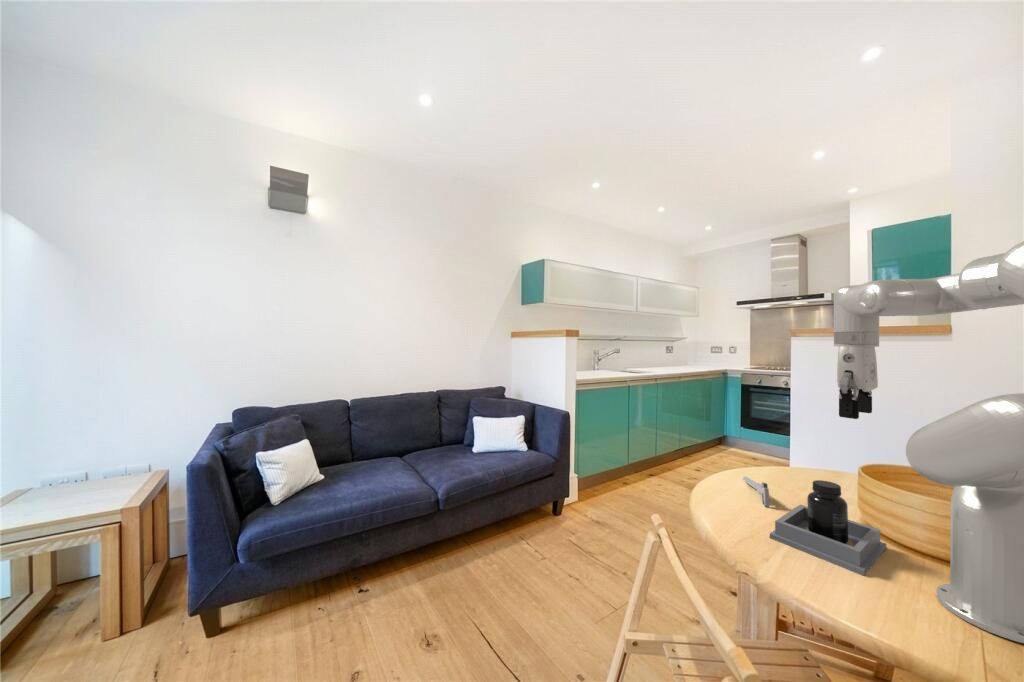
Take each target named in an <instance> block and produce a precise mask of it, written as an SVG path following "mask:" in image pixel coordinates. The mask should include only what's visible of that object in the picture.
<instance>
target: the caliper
mask: <svg viewBox="0 0 1024 682" xmlns="http://www.w3.org/2000/svg"><path fill="white" fill-rule="evenodd" d="M742 480H743V481H744V480H745V481H744V483H746V484H747V485H749V486H751V487H752V488H753V489H755V490H756V494H759V495H760V497H761V498H760V499H761V504H762V505H763V506H764V507H767V508H769V507H770V491H769V488H768V483H766V482H761V483H760V482H756V481H754V480H753V479H751V478H750V477H748V476H743V477H742Z"/></svg>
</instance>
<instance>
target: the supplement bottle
mask: <svg viewBox="0 0 1024 682" xmlns="http://www.w3.org/2000/svg"><path fill="white" fill-rule="evenodd" d="M811 488H812V492H809V493H808V494H807V499H806V500H807V507H808V531H810V532H813V533H816V534H819V535H822V536H824V537H827V538H830V539H833V540H835V541H838V542H841V543H844V544H846V543H847V542H848V520H849V515H848V513H849V512H848V511H849V509H848V508H849V507H848V502H847V501H846V500H845V499H844V498H843V497H842V487H841V485H840V484H838V483H835V482H833V481H832V482H831V481H828V480H822V479H821V480H820V479H817V480H813V481H812V487H811Z"/></svg>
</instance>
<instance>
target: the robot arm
mask: <svg viewBox="0 0 1024 682" xmlns="http://www.w3.org/2000/svg"><path fill="white" fill-rule="evenodd" d="M1019 305H1021V306H1022V305H1024V240H1023V241H1021V242H1020V243H1018V244H1015V245H1014V246H1012V247H1011V248H1010V249H1008V250H1007V251H1006V252H1004V253H1002V252H1001V253H999V254H993V255H989V256H983V257H978V258H976V259H973V260H972V261H969V262H968V263H967V264H965V266H964V267H963V268H962V269H961V271H960V272H959V273H955V274H949V275H948V274H947V275H944V276H943V275H942V276H938V277H937V276H936V277H933V278H931V277H930V278H923V279H922V278H905V279H904V278H897V279H896V278H895V279H877V280H871V281H868V282H865V283H862V284H854V285H846V286H840V287H837V289H835V291H834V293H833V347H838V351H837V365H836V366H837V367H836V368H837V370H836V372H837V373H836V376H837V377H836V378H837V379H836V380H837V387H838V392H839V394H838V416H839V417H840V418H845V419H854V420H858V419H859V418H860V413H863V414H872V413H873V396H872V394H873V390H875V389H877V388H878V387H879V382H878V380H879V378H878V364H877V352H876V349H875V348H878V347H880V317H902V316H903V317H907V316H908V317H909V316H910V317H920V316H921V317H922V316H934V315H944V314H952V313H953V314H954V313H961V312H970V311H971V312H972V311H977V310H987V309H994V308H995V309H996V308H1002V307H1013V306H1019ZM905 456H906V459H907V461H908V463H909V464H910V466H911V467H912V468H913V469H914V471H915V472H917V473H918V474H919V475H920V476H922V477H924V478H926V479H927V480H929V481H931V482H933V483H936V484H939V485H943V486H945V487H946V486H947V487H952V488H953V490H952V493H951V498H950V551H949V555H950V565H949V568H950V570H949V571H950V574H949V575H950V576H949V579H950V583H944V584H940V585H938V586H937V587H936V589H935V592H936V598H937V600H938V601H939V602H940V604H941V605H942V606H943V607H945V608H946V609H948V611H949V612H951V613H952V614H954V615H955V616H957V617H958V618H961V619H963V621H966V622H967V623H969V624H972V625H974V626H975V627H977V628H980V629H982V630H984V631H986V632H989V633H991V634H994V635H995V636H999V637H1001V638H1005V639H1007V640H1010V641H1013V642H1016V643H1020V644H1024V392H1023V393H1008V394H1002V395H1001V394H1000V395H997V396H992V397H989V398H985V399H981V400H979V401H977V402H976V401H975V402H974V403H971V404H970V405H967V406H964V407H963V408H961V409H959V410H957V411H954V412H952V413H950V414H947V415H946V416H943V417H941V418H939V419H937V420H935V421H932V422H931V423H930V422H929V423H928V424H926V425H925V426H922V427H921V428H919V429H917V430H916V431H915V432H914V433H913V434H912V435H910V437H909V438H908V440H907V441H906V445H905Z"/></svg>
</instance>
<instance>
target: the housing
mask: <svg viewBox="0 0 1024 682" xmlns="http://www.w3.org/2000/svg"><path fill="white" fill-rule="evenodd" d="M774 526H775V527H774V530H773V531H771V532H770V533H769V538H770V539H772V540H774V541H777V542H779V543H782V544H784V545H787V546H789V547H792V548H794V549H797V550H799V551H801V552H804V553H806V554H809V555H811V556H814V557H816V558H819V559H822V560H824V561H827V562H829V563H832V564H833V565H837V566H839V567H841V568H844V569H845V570H849V571H850V572H853V573H856V574H858V575H861V576H865V575H866V574H867V573H868V572H869V571H870V570H871V568H872V567H873V566H874V564H875V563H876V562H877V561H878V559H879V558H880V557H881V556H882V555H883V553H884V552H885V551H886V549H887V543H884V542H882V541H881V529H880V528H876V527H873V526H870V525H866V524H864V523H860V522H857V521H854V520H851V519H848V542H847V543H846V544H844V543H841V542H838V541H835V540H833V539H830V538H827V537H824V536H822V535H819V534H816V533H813V532H810V531H808V505H807V506H806V505H803V504H799V505H797V506H796V507H794V508H793V509H791V510H790V511H788V512H787V513H785V514H783V515H782V516H781V517H779V518H778V519H776V520H775V522H774Z"/></svg>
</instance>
